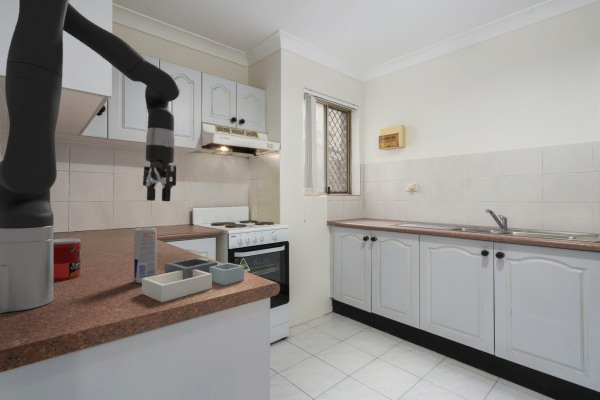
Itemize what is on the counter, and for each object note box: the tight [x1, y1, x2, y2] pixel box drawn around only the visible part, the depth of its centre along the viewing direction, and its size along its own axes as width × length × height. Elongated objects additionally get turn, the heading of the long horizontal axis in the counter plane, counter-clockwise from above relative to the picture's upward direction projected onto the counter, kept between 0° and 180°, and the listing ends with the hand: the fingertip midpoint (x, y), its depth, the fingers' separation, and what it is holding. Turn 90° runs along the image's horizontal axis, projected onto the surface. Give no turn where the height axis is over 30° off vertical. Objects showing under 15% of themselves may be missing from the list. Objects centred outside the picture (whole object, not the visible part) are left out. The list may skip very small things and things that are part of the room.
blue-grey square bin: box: [209, 262, 245, 286], centre depth 87 cm, size 7×7×4 cm
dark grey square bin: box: [164, 257, 218, 280], centre depth 89 cm, size 10×10×5 cm
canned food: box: [53, 237, 82, 282], centre depth 88 cm, size 8×8×11 cm
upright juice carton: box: [133, 227, 158, 284], centre depth 85 cm, size 6×6×15 cm
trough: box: [141, 269, 213, 303], centre depth 77 cm, size 14×10×4 cm
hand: (158, 200), depth 88 cm, fingers open, 8 cm apart
